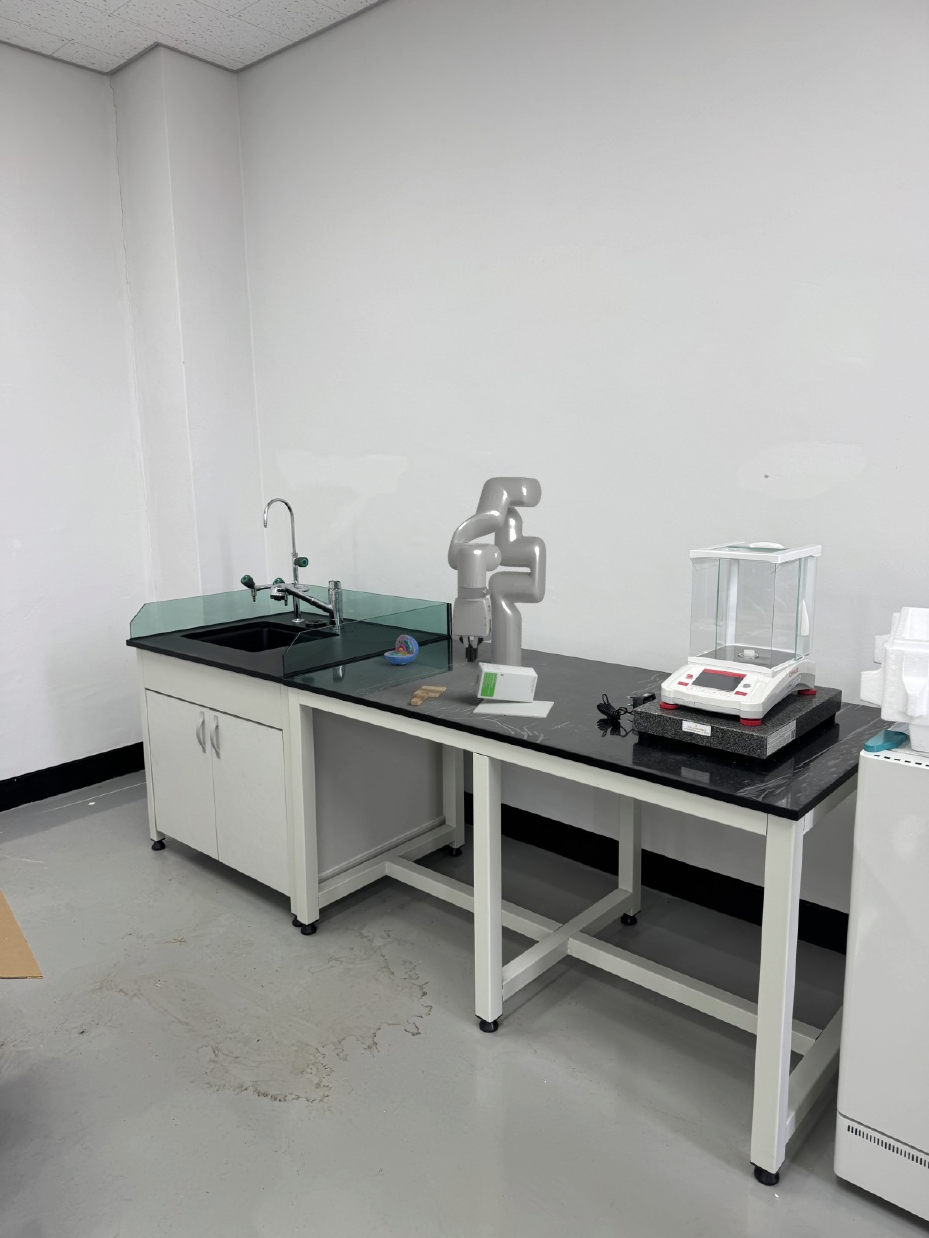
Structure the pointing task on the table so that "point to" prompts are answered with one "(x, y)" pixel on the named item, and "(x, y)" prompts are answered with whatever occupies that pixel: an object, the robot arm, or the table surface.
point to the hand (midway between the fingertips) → (471, 661)
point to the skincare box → (505, 682)
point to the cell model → (403, 650)
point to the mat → (514, 708)
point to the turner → (426, 693)
